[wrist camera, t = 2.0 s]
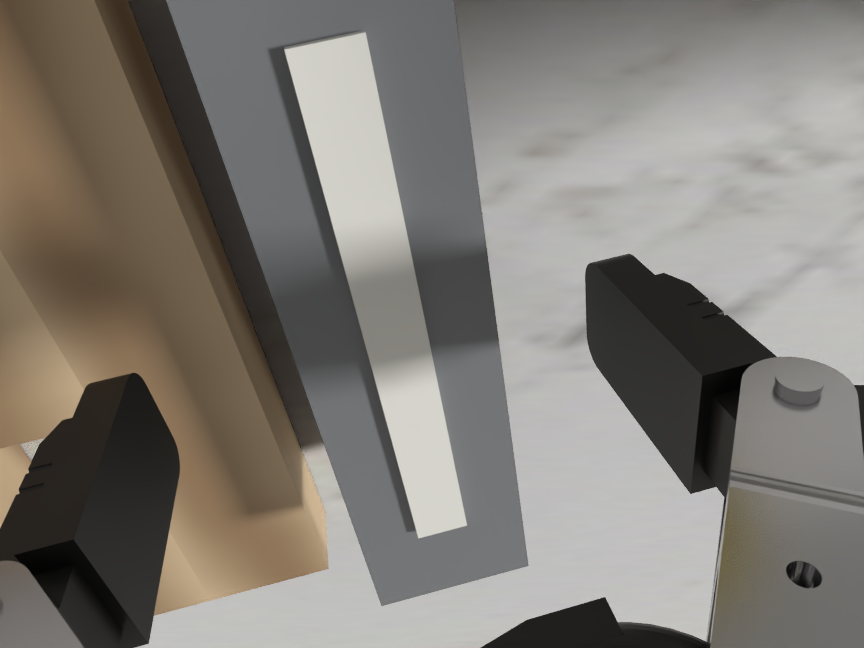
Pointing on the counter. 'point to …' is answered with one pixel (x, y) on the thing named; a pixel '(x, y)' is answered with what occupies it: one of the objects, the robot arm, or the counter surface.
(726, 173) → the counter surface
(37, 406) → the socket board
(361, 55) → the strip
